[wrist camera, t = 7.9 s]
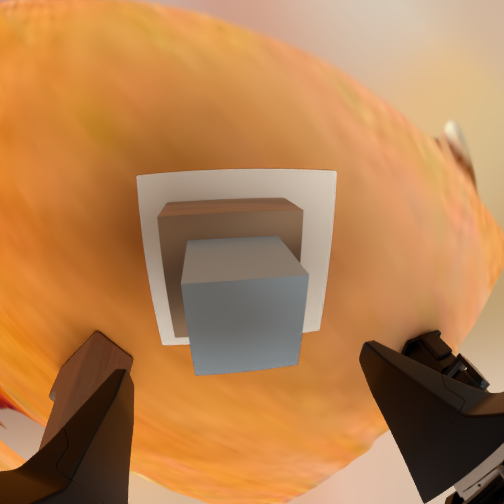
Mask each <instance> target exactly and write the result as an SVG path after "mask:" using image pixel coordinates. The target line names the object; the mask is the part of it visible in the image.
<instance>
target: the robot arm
mask: <svg viewBox="0 0 504 504" xmlns="http://www.w3.org/2000/svg"><path fill="white" fill-rule="evenodd" d="M440 335H441V332H440V331H439V330H438V331H435V332H432V333H429V334H427V335H424V336H421V337H418V338H415V339H412V340H409V341H408V342H407V343H406V345H405V348H404V350H403V352H402V354H400V353H398V352H396V351H394V350H392V349H390V348H388V347H386V346H384V345H382V344H380V343H378V342H376V341H374V340H372V341H368V342H365V343H364V344H363V347H362V350H361V353H360V357H359V361H360V364H361V367H362V370H363V372H364V375H365V377H366V380H367V383H368V385H369V388H370V390H371V393H372V395H373V397H374V399H375V401H376V403H377V405H378V407H379V409H380V411H381V413H382V415H383V417H384V419H385V421H386V423H387V425H388V427H389V429H390V430H391V433H392V435H393V437H394V439H395V441H396V443H397V445H398V447H399V449H400V452H401V454H402V456H403V458H404V460H405V463H406V465H407V467H408V469H409V472H410V474H411V476H412V478H413V480H414V483H415V485H416V487H417V490H418V492H419V494H420V496H421V499H422V501H423V503H424V504H425V503H427V502H429V501H430V500H432V499H434V498H435V497H437V496H438V495H440V494H441V493H443V492H444V491H446V490H447V489H449V488H450V487H452V486H454V487H455V489H456V491H455V492H454V493H452V494H451V495H450V496H448V497H447V498H446V501H445V504H504V392H501V393H490V392H488V391H487V387H488V386H489V385H490V384H489V383H488V381H487V380H486V379H485V378H484V377H483V375H482V374H481V373H480V372H479V371H478V369H477V368H476V367H475V366H474V365H473V364H472V363H470V361H469V360H468V359H466V358H465V357H464V356H462V355H461V354H460V353H459V354H458V355H457V356H456V357H455V356H454V355H453V354H452V349H451V348H450V347H449V346H448V345H447V344H446V343H445V342H444V341H443V340H442V339H441V338H440ZM466 367H467V369H466V370H464V369H465V368H466ZM133 425H134V384H133V381H132V379H131V376H130V374H129V372H128V370H127V369H125V368H117V369H115V370H114V371H113V372H112V373H111V374H110V376H109V377H108V378H107V379H106V380H105V381H104V382H103V383H102V384H101V385H100V386H99V387H98V388H97V390H96V391H95V392H94V393H93V394H92V395H91V396H90V397H89V398H88V399H87V400H86V402H85V403H84V404H83V405H82V406H81V407H80V408H79V409H78V410H77V411H76V413H75V414H74V415H73V416H72V417H71V418H70V419H69V420H68V421H67V423H66V424H65V425H64V427H62V428H61V429H60V430H59V431H58V433H57V434H56V435H55V436H54V437H53V438H52V439H51V440H50V441H49V442H48V443H47V444H46V445H45V446H44V447H43V448H41V449H40V450H39V451H38V452H37V453H36V454H35V455H34V456H32V457H31V458H30V459H29V460H28V461H27V462H26V463H24V464H23V465H22V466H20V467H19V468H17V469H14V470H9V471H0V504H128V485H129V468H130V455H131V444H132V435H133Z"/></svg>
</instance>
